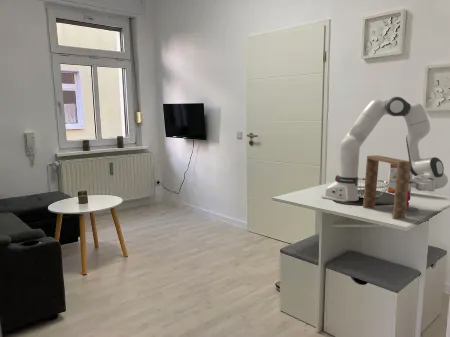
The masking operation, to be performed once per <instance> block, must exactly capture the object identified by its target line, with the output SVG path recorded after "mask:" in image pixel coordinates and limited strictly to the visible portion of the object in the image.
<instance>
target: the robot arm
mask: <svg viewBox="0 0 450 337" xmlns="http://www.w3.org/2000/svg"><path fill="white" fill-rule="evenodd" d="M385 115H389V116H390V117H391V116H392V117H403V119H404V121H405V123H406V127H407V135H406V137H405V138H406V140H405V141H406V142H405V143H406V149H407V154H408V161H411V166H410V172H411V173H412V174H413V175H412V176H414V177H412V178H410V180H409V186H408V187H411V188H413V189H416V190H417V191H423V192H424V191H427V192H435V190H439V189H442V188H444V187H446V186H447V185H448V182H449V179H448V176H447V175H446V174H445V173H444V171H445V170H444V169H445V168H444V163H443V161H442V160H441V159H440V158H439V157H436V156H434V157H428V158H421V157H420V156H421V155H420V150H419V142H420V141H421V140H422V139H424V138H426V136H427V135H428V134H429V133H430V132H431V125H430V120H429V118H428V115H427V112H426V111H425V109H424V107H423V105H422V104H421V103H418V102H413V103H409V102H408V101H407V100H406V99H404V98H403V97H401V96H392V97H389V99H386V100H384V101H383V100H381V99H376V98H374V99H372V100H371V101H370V102H369V103H368V104H367V105H366V106H365V107H364V108H363V110H362V111H361V112H360V114H359V115H358V117H357V118H356V120H355V121H354V123H353V124H352V126H351V127H350V129H349V130H348V131H347V133H346V134H345V135H344V137H343V138H342V140H341V141H340V144H339V164H338V165H339V167H338V174H336V175H335V177H334V180H335V181H333V182H331V183H330V184H328V185H327V186H326V187H325V190H324V192H322V193H321V194H320V198H322V199H327V200H332V201H337V202H344V203H345V202H356V201H359V199H360V198H359V193H358V192H359V191H358V185H359V163H360V162H359V160H360V147H362V145H363V144H364V143H365V141H366V139H367V138H368V137H369V136H370V134H371V133H372V131H374V129H375V127H376V126H377V125H378V123H379V122H380V121H381V120H382V117H384V116H385Z"/></svg>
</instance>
